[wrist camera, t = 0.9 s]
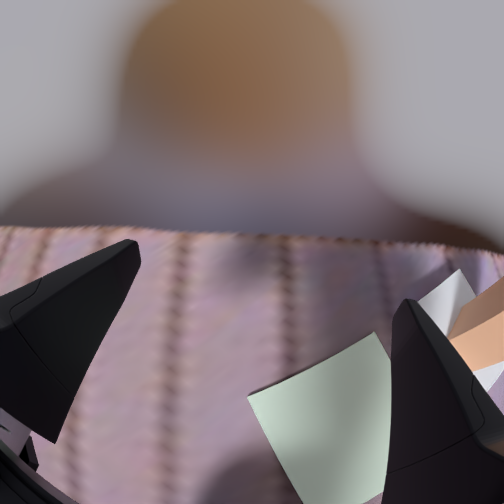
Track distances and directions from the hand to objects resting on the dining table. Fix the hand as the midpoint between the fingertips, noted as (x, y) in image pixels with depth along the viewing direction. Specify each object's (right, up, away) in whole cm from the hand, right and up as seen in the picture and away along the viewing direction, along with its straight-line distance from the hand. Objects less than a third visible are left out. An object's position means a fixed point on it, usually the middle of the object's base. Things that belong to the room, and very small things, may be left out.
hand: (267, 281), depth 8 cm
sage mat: (+7, -14, +9) cm, 18 cm away
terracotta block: (+19, -7, +9) cm, 22 cm away
